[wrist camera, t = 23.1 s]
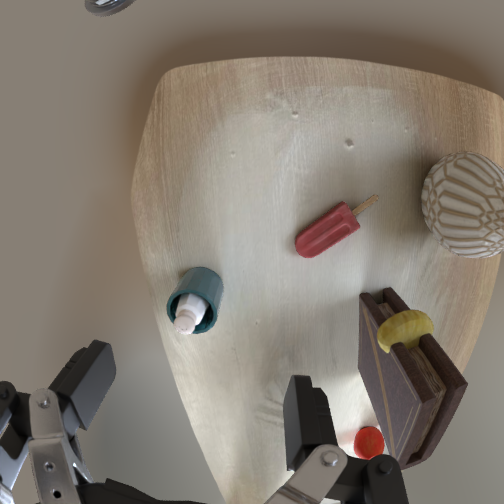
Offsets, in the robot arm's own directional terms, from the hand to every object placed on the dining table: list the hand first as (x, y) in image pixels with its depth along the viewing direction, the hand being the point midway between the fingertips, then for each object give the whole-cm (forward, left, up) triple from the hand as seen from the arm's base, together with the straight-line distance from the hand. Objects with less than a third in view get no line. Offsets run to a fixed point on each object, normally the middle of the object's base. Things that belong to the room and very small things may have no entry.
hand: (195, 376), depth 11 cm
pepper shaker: (-1, -13, -32) cm, 34 cm away
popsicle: (+13, +6, -32) cm, 35 cm away
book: (+31, -7, -32) cm, 45 cm away
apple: (+54, -35, -32) cm, 72 cm away
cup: (0, -14, -32) cm, 35 cm away
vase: (+28, +20, -32) cm, 47 cm away
